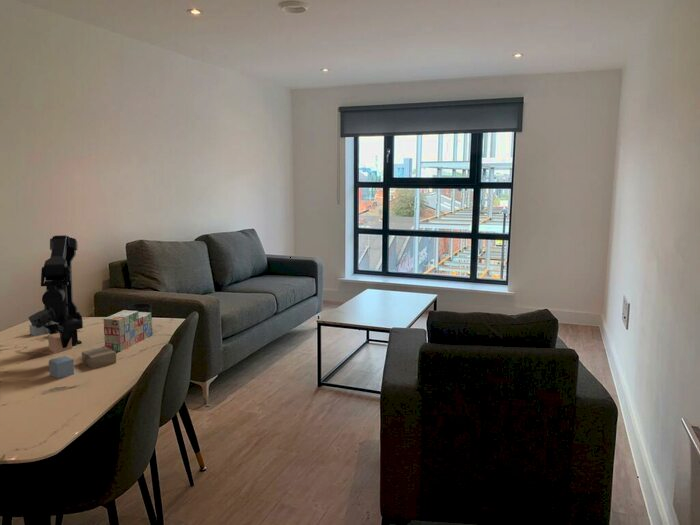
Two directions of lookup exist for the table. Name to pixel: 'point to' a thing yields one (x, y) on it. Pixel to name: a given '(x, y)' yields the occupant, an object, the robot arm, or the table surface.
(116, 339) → the stack of blocks
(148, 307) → the pen holder
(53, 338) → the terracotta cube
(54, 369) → the slate cube
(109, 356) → the taupe faceted block
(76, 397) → the table surface
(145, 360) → the table surface
